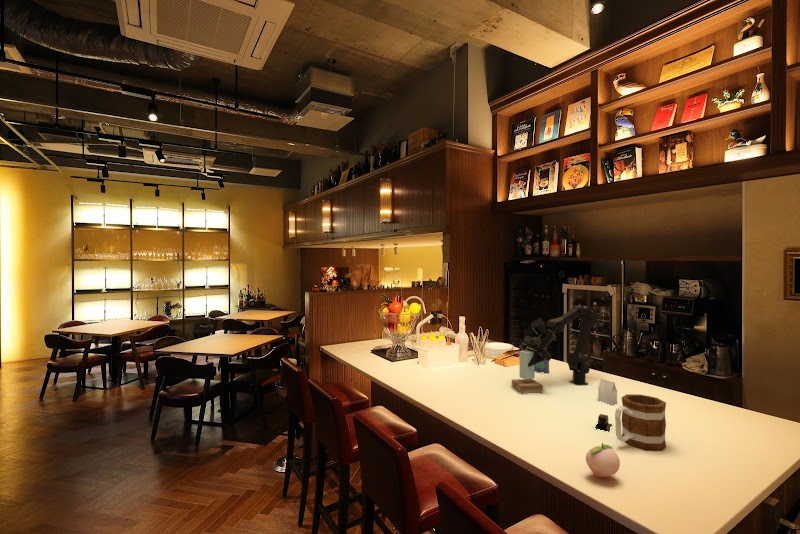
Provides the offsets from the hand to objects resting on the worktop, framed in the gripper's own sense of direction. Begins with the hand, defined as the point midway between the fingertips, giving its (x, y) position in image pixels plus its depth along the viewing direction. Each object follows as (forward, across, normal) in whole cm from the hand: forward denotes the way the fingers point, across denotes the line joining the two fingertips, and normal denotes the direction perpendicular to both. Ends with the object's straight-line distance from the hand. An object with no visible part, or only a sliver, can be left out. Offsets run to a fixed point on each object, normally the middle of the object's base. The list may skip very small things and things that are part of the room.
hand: (524, 364), depth 202 cm
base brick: (+8, 0, +10) cm, 13 cm away
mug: (+9, +64, +9) cm, 65 cm away
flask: (-12, -27, +31) cm, 43 cm away
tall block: (+4, 0, +6) cm, 7 cm away
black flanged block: (+9, +48, +11) cm, 50 cm away
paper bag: (-8, +27, +27) cm, 39 cm away
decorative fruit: (+30, +78, -11) cm, 84 cm away
